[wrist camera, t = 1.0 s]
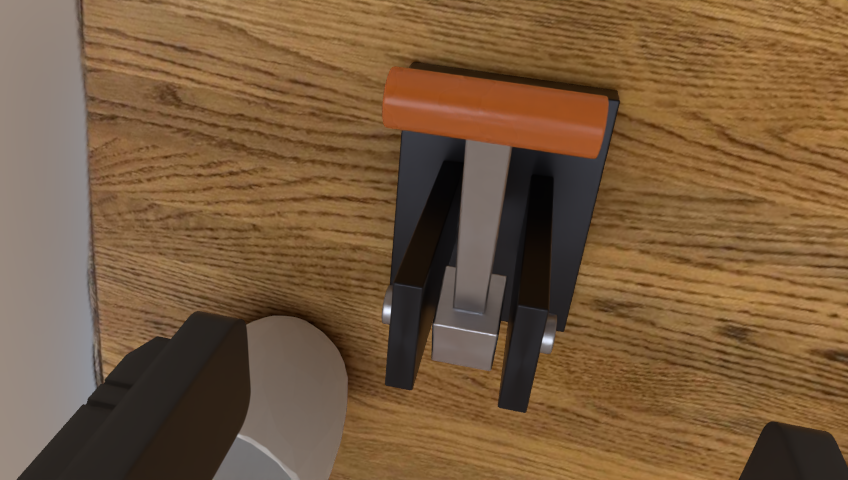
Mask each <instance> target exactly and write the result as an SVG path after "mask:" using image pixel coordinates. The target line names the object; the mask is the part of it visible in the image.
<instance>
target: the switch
mask: <svg viewBox="0 0 848 480" xmlns="http://www.w3.org/2000/svg"><path fill="white" fill-rule="evenodd" d="M608 107H609V101H608V97H607V96H602V95H595V94H588V93H581V92H574V91H567V90H560V89H553V88H546V87H539V86H532V85H525V84H517V83H510V82H503V81H496V80H489V79H482V78H475V77H468V76H461V75H454V74H447V73H440V72H432V71H425V70H418V69H411V68H404V67H397V66H394V67H392V68H391V69H390V71H389V74H388V77H387V80H386V84H385V89H384V95H383V106H382V117H383V123H384V126H385V127H387V128H392V129H399V130H405V131H412V132H419V133H425V134H432V135H438V136H445V137H451V138H458V139H465V140H466V145H465V157H464V170H463V183H462V196H461V208H460V221H459V234H458V246H457V259H456V267H453V266H446V267H445V269H444V274H443V278H442V283H441V287H440V292H439V296H438V301H437V305H436V310H435V314H434V319H433V324H432V357H431V358H432V360H435V361H440V362H445V363H450V364H456V365H461V366H466V367H472V368H477V369H482V370H487V371H491V369H492V365H493V360H494V355H495V350H496V345H497V340H498V335H499V329H500V323H501V317H502V310H503V304H504V297H505V291H506V285H507V276H504V275H499V274H493V273H492V269H493V263H494V257H495V251H496V245H497V238H498V232H499V226H500V220H501V214H502V207H503V201H504V195H505V189H506V183H507V176H508V170H509V164H510V158H511V151H512V147H517V148H524V149H530V150H537V151H544V152H550V153H557V154H563V155H570V156H577V157H583V158H590V159H596V158H597V156H598V154H599V152H600V149H601V145H602V142H603V137H604V133H605V128H606V122H607V116H608Z"/></svg>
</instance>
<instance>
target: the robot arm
mask: <svg viewBox="0 0 848 480" xmlns="http://www.w3.org/2000/svg"><path fill="white" fill-rule="evenodd" d="M250 396H251V385H250V369H249V353H248V337H247V327H246V324H245V322H244V320H242V319H238V318H233V317H227V316H222V315H217V314H212V313H206V312H201V311H197V312H194V313H193V314H192V315H191V316H190V317H189V318H188V319H187V320H186V321H185V323H184V324H183V325H182V326H181V327H180V329H179V330H178V331H177V332H176V334H175V335H174V336H173V337H172V338H171V339H168V338H163V337H158V336H157V337H155V338H154V339H152V340H150V341H149V342H147V343H145V344H144V345H142V346H140V347H139V348H137V349H135V350H134V351H132V352H130V353H129V354H127V355H126V356H125V357H124V358H123V359H122V361H121V362H120V363H119V364H118V365H117V366H116V367H115V369H114V370H113V371H112V372H111V373H110V374H109V375H108V376H107V378H106V379H105V383H104V384H100V386H99V387H98V388H97V389H96V390H95V391H94V392H93V393H92V395H91V396H90V397H89V398H88V401H87V404H86V405H84V404H83V405H82V406H81V407H80V408H79V409H78V410H77V412H76V413H75V414H74V415H73V416H72V417H71V418H70V420H69V421H68V422H67V423H66V424H65V425H64V426H63V428H62V429H61V430H60V431H59V432H58V433H57V434H56V435H55V437H54V438H53V439H52V440H51V441H50V442H49V443H48V445H47V446H46V447H45V448H44V449H43V450H42V451H41V453H40V454H39V455H38V456H37V457H36V458H35V459H34V460H33V462H32V463H31V464H30V465H29V466H28V467H27V468H26V470H25V471H24V472H23V473H22V474H21V475H20V476H19V477H18V479H17V480H212V479H213V478H214V476H215V474H216V472H217V471H218V469H219V467H220V465H221V464H222V462H223V460H224V458H225V457H226V455H227V453H228V451H229V449H230V448H231V446H232V444H233V442H234V441H235V439H236V437H237V435H238V434H239V432H240V430H241V428H242V426H243V424H244V421H245V419H246V415H247V412H248V408H249V403H250ZM739 480H848V467H847V465H846V462H845V460H844V458H843V456H842V454H841V451H840V449H839V447H838V445H837V443H836V441H835V439H834V437H833V436H832V435H831V434H830V433H829V432H826V431H822V430H816V429H811V428H806V427H801V426H795V425H790V424H785V423H779V422H769V423H768V424H767V425H766V426H765V427H764V428H763V430H762V432H761V434H760V436H759V438H758V440H757V443H756V445H755V447H754V449H753V451H752V453H751V455H750V457H749V459H748V461H747V463H746V466H745V468H744V470H743V472H742V474H741V476H740V478H739Z"/></svg>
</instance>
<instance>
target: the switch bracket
mask: <svg viewBox="0 0 848 480" xmlns="http://www.w3.org/2000/svg"><path fill="white" fill-rule="evenodd" d="M409 68H411V69H418V70H425V71H432V72H440V73H447V74H454V75H461V76H468V77H475V78H482V79H489V80H496V81H503V82H510V83H517V84H525V85H532V86H539V87H546V88H553V89H560V90H567V91H574V92H581V93H588V94H595V95H602V96H607V97H608V101H609V107H608V116H607V122H606V128H605V133H604V137H603V142H602V145H601V149H600V152H599V154H598V156H597V158H596V159H590V158H583V157H577V156H570V155H563V154H557V153H550V152H544V151H537V150H530V149H524V148H517V147H512V151H511V158H510V164H509V170H508V176H507V183H506V189H505V195H504V201H503V207H502V214H501V220H500V226H499V232H498V238H497V245H496V251H495V257H494V263H493V269H492V273H493V274H499V275H504V276H507V285H506V291H505V297H504V304H503V310H502V317H501V321H506V322H508V328H507V336H506V344H505V352H504V359H503V367H502V375H501V383H500V391H499V399H498V407H499V408H503V409H508V410H513V411H518V412H523V413H526V411H527V407H528V403H529V398H530V394H531V389H532V385H533V380H534V376H535V372H536V367H537V363H538V358H539V354H540V353H545V354H550V353H551V352H552V348H553V344H554V339H555V333H556V331H561V332H564V330H565V326H566V322H567V317H568V313H569V309H570V305H571V301H572V297H573V293H574V289H575V284H576V280H577V276H578V272H579V268H580V264H581V260H582V256H583V252H584V247H585V243H586V239H587V235H588V231H589V227H590V223H591V219H592V215H593V210H594V206H595V202H596V198H597V194H598V190H599V186H600V182H601V178H602V173H603V169H604V165H605V161H606V157H607V153H608V149H609V145H610V141H611V136H612V132H613V128H614V124H615V120H616V116H617V112H618V108H619V104H620V100H619V95H618V91H617V90H610V89H603V88H596V87H589V86H582V85H574V84H567V83H560V82H553V81H546V80H539V79H532V78H524V77H517V76H510V75H503V74H496V73H489V72H482V71H474V70H467V69H460V68H453V67H446V66H439V65H432V64H424V63H417V62H413V63H412V64H411V66H410V67H409ZM465 145H466V140H465V139H458V138H451V137H445V136H438V135H432V134H425V133H419V132H412V131H405V130H402V133H401V146H400V159H399V172H398V185H397V198H396V211H395V224H394V238H393V251H392V264H391V277H390V285H389V287H388V289H387V291H386V294H385V298H384V303H383V309H382V322H383V323H384V324H389V325H390V327H389V339H388V352H387V365H386V377H385V385H386V386H391V387H396V388H401V389H406V390H412V389H413V386H414V383H415V379H416V376H417V372H418V369H419V366H420V362H421V359H422V355H423V352H424V348H425V345H426V341H427V338H428V335H429V331H430V328H431V324H432V321H433V317H434V314H435V310H436V305H437V301H438V296H439V292H440V287H441V283H442V278H443V274H444V269H445V267H446V266H453V267H456V259H457V246H458V234H459V221H460V208H461V196H462V183H463V170H464V157H465Z"/></svg>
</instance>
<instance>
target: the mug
mask: <svg viewBox="0 0 848 480" xmlns="http://www.w3.org/2000/svg"><path fill="white" fill-rule="evenodd" d="M246 327H247V337H248V353H249V369H250V385H251V396H250V403H249V408H248V412H247V415H246V419H245V421H244V424H243V426H242V428H241V430H240V432H239V434H238V435H237V437H236V439H235V441H234V442H233V444H232V446H231V448H230V449H229V451H228V453H227V455H226V457H225V458H224V460H223V462H222V464H221V465H220V467H219V469H218V471H217V472H216V474H215V476H214V478H213V479H212V480H328V479H329V476H330V473H331V471H332V467H333V464H334V461H335V458H336V455H337V452H338V449H339V445H340V442H341V438H342V433H343V427H344V422H345V416H346V411H347V392H348V377H347V373H346V369H345V364H344V361H343V359H342V357H341V355H340V352H339V351H338V349H337V347H336V346H335V345H334V344H333V342H332V341H331V340H330V339H329V338H328V337H327V336H326V335H325V334H324V333H323V332H322V331H320V330H319V329H317V328H316V327H314V326H313V325H311V324H310V323H308V322H307V321H305V320H302V319H299V318H296V317H289V316H269V317H265V318H261V319H259V320H256V321H253V322H251V323H249V324H247V325H246Z"/></svg>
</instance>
